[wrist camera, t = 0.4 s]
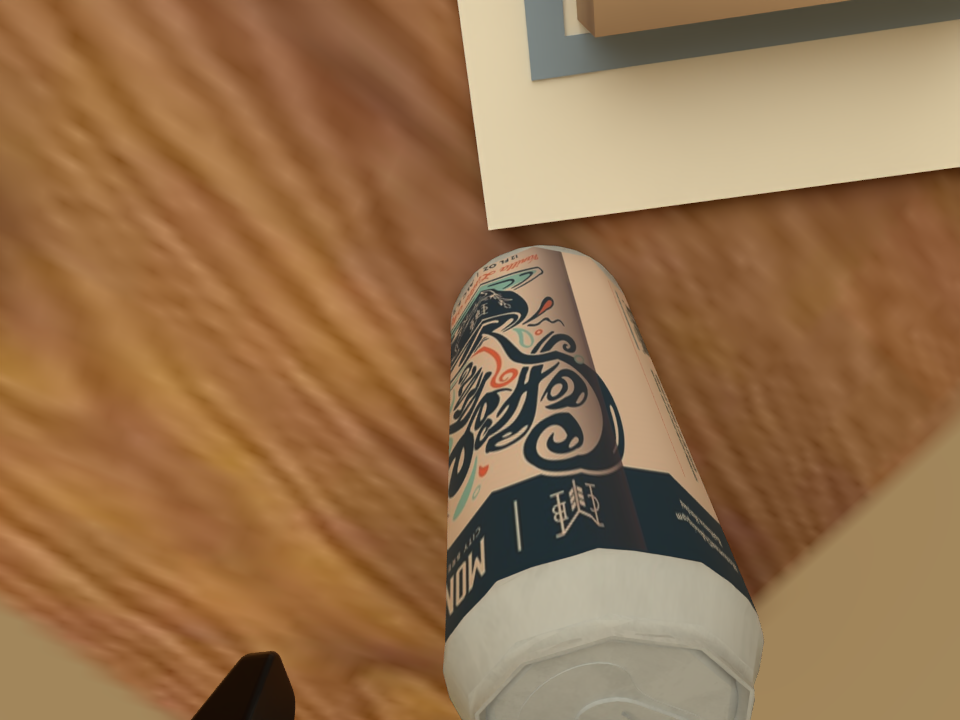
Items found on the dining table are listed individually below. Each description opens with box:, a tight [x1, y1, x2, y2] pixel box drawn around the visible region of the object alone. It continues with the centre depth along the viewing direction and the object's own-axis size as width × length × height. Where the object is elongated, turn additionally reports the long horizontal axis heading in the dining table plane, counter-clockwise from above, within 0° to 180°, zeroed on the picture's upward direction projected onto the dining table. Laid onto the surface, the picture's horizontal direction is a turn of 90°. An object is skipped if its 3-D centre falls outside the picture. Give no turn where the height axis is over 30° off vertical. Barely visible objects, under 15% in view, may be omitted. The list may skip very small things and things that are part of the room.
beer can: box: [443, 245, 764, 720], centre depth 16 cm, size 5×5×12 cm
